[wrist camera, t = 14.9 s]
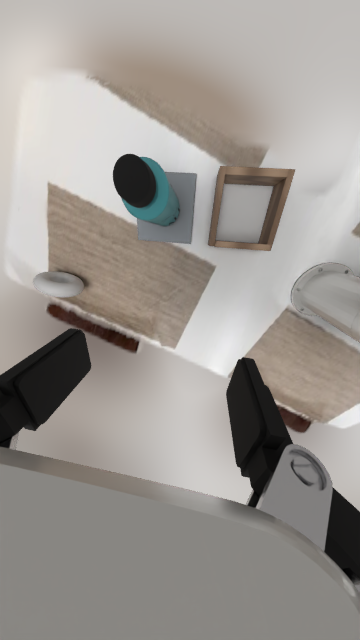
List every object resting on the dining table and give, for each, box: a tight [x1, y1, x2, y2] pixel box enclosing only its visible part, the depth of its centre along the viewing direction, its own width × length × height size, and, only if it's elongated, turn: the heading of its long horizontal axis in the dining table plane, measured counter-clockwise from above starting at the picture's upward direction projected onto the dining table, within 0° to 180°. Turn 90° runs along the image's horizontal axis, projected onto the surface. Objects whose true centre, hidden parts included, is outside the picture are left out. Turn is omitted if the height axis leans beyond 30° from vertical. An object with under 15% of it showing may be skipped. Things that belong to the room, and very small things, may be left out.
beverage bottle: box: [113, 154, 180, 227], centre depth 24 cm, size 6×7×20 cm
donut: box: [33, 272, 84, 297], centre depth 39 cm, size 10×4×10 cm, turn 71°
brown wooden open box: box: [208, 166, 295, 251], centre depth 30 cm, size 12×12×7 cm
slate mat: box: [137, 172, 196, 244], centre depth 34 cm, size 12×12×1 cm
